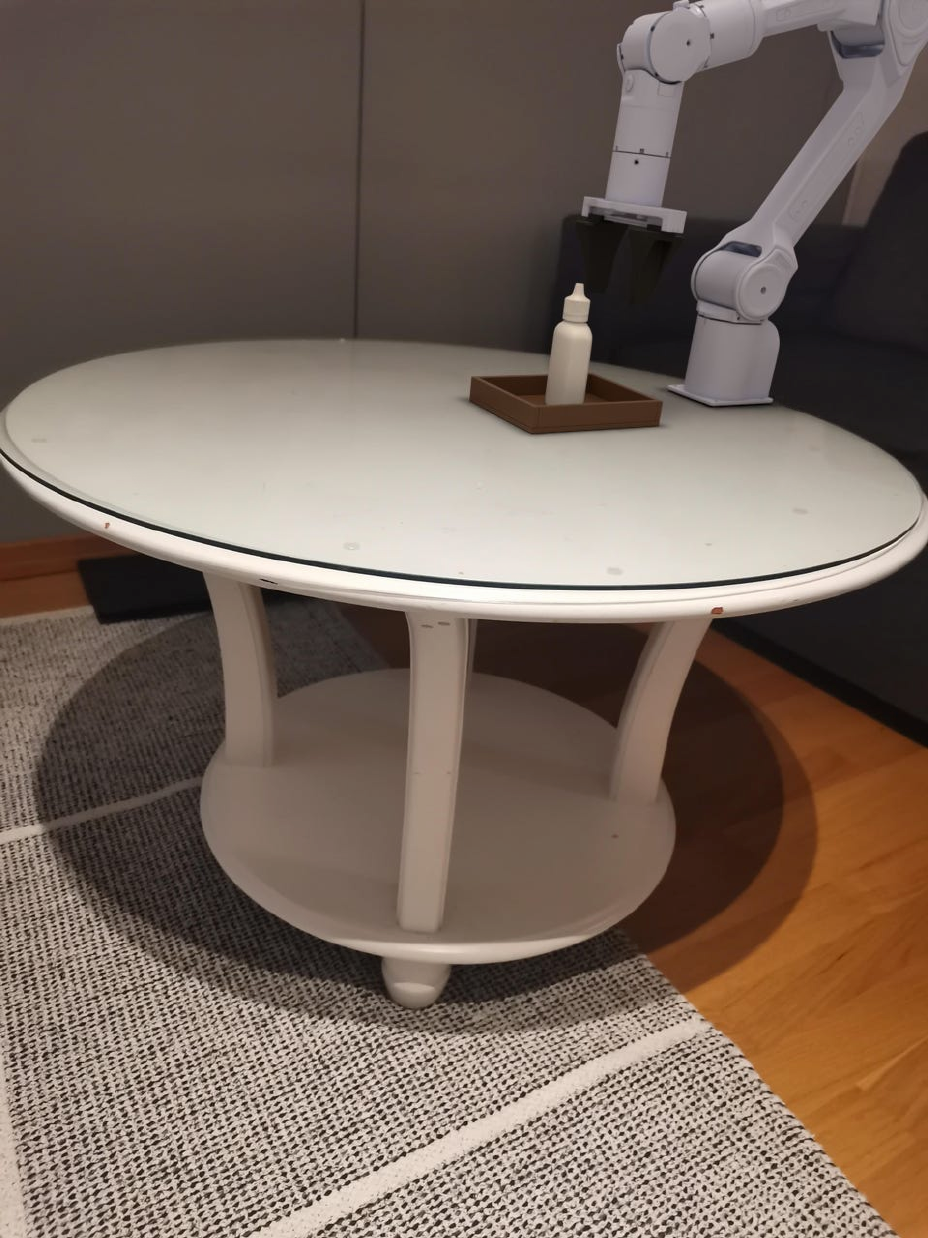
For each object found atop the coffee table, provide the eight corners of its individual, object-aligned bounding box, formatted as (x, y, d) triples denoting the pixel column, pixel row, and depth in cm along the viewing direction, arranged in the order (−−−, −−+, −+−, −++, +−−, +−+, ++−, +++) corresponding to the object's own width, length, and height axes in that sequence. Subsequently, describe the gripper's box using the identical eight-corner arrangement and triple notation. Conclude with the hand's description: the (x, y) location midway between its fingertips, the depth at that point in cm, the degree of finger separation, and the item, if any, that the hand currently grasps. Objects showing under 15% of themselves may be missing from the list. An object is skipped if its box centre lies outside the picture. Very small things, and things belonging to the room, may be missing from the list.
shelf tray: (589, 395, 104) (592, 372, 103) (659, 425, 94) (663, 400, 93) (468, 400, 97) (470, 376, 96) (531, 433, 87) (534, 407, 86)
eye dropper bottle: (589, 405, 97) (607, 283, 92) (578, 417, 92) (597, 289, 87) (548, 399, 98) (563, 278, 93) (535, 410, 93) (551, 283, 88)
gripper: (567, 146, 96) (547, 285, 102) (655, 154, 85) (627, 310, 91) (621, 154, 100) (599, 288, 106) (714, 162, 89) (683, 312, 95)
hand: (616, 298), depth 99 cm, fingers open, 7 cm apart
